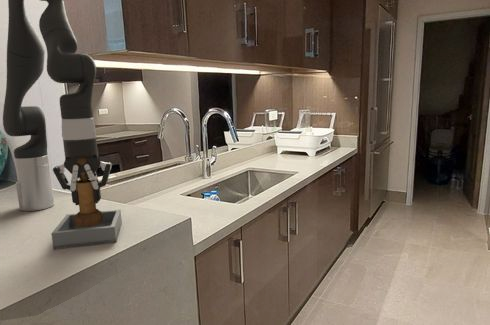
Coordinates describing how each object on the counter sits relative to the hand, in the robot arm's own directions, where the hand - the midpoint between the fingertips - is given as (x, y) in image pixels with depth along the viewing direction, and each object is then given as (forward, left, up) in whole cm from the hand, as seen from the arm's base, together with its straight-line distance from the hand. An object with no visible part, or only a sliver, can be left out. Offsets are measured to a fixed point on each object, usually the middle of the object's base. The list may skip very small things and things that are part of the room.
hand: (87, 203), depth 88 cm
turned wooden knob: (0, 0, -5) cm, 5 cm away
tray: (0, 0, -9) cm, 9 cm away
